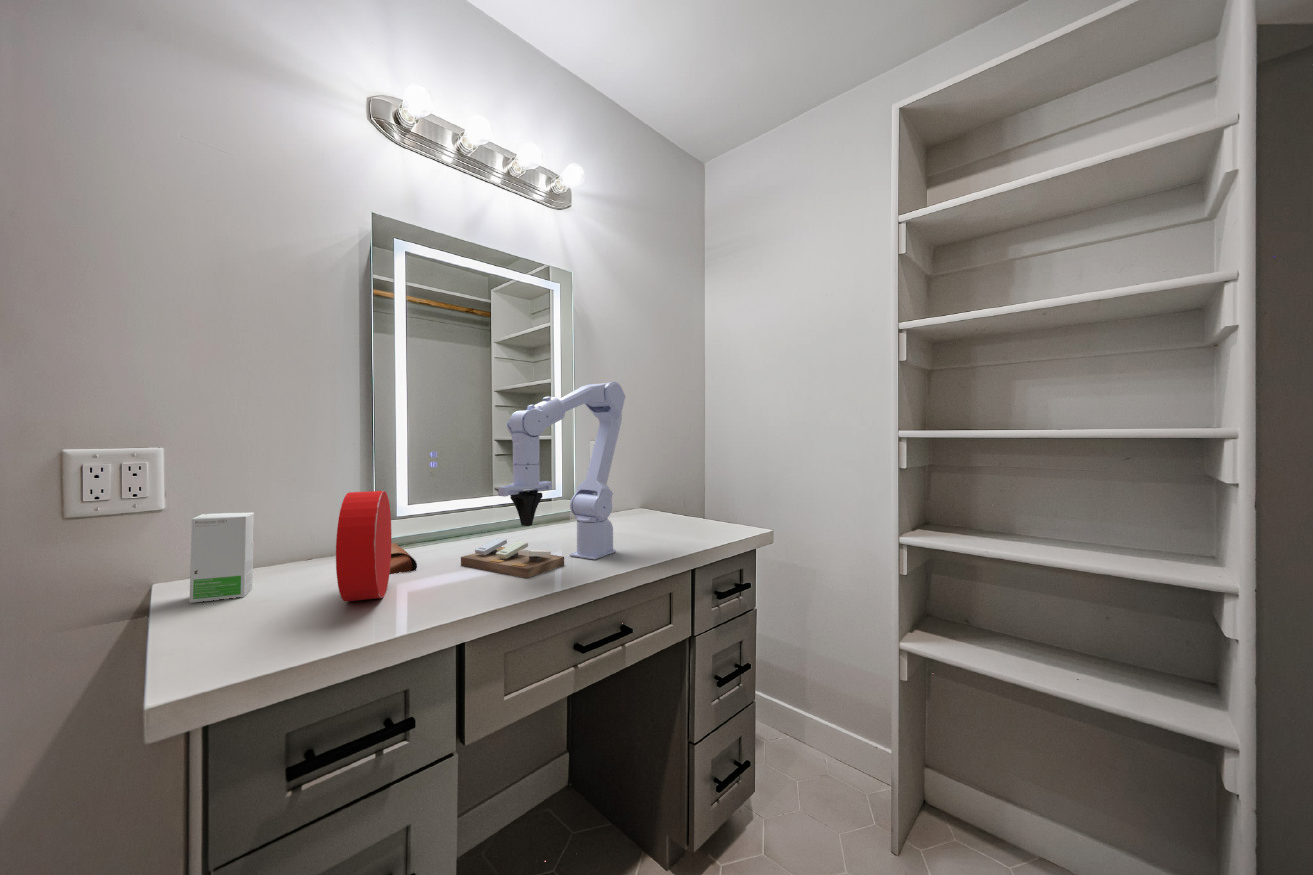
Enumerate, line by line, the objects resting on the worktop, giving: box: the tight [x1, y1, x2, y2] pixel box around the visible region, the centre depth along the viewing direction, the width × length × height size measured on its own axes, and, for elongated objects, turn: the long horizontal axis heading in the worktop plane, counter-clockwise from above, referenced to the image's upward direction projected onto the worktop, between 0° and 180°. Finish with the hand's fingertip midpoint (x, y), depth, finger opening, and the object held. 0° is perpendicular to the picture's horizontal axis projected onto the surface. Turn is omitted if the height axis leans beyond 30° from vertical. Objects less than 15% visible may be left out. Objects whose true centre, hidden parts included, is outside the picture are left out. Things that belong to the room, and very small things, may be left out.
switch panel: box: [460, 546, 565, 579], centre depth 118 cm, size 12×21×3 cm, turn 60°
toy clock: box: [335, 490, 392, 603], centre depth 95 cm, size 20×6×20 cm, turn 21°
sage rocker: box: [496, 540, 529, 559], centre depth 118 cm, size 7×3×1 cm, turn 150°
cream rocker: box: [518, 549, 552, 556], centre depth 114 cm, size 7×3×1 cm, turn 150°
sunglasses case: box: [389, 542, 418, 575], centre depth 118 cm, size 18×7×7 cm
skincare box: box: [189, 512, 255, 604], centre depth 96 cm, size 8×7×16 cm
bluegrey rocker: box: [474, 537, 508, 555], centre depth 121 cm, size 7×3×1 cm, turn 150°
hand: (526, 525), depth 112 cm, fingers closed
